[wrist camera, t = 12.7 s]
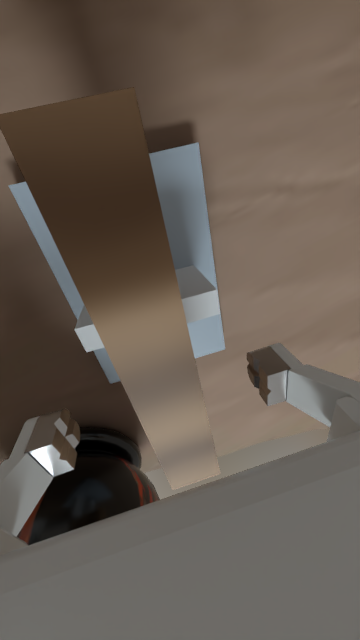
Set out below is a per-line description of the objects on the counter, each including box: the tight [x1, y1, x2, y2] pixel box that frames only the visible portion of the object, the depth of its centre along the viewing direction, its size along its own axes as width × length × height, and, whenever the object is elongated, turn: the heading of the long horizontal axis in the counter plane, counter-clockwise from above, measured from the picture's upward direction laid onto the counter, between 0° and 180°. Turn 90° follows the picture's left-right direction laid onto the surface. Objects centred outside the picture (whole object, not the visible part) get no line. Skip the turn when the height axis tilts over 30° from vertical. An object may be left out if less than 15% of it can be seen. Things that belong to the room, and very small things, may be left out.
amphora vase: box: [17, 427, 160, 546], centre depth 22 cm, size 22×22×28 cm
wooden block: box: [0, 87, 220, 490], centre depth 13 cm, size 20×4×6 cm, turn 12°
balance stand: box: [9, 143, 225, 384], centre depth 19 cm, size 20×14×8 cm
